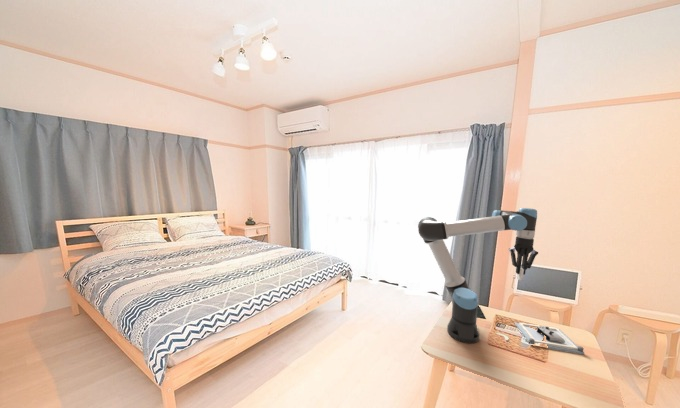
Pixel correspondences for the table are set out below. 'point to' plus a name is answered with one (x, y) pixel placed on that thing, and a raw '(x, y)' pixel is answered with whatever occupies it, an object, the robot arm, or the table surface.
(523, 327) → the chassis
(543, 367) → the table surface
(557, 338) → the gaming controller
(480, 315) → the smartphone
